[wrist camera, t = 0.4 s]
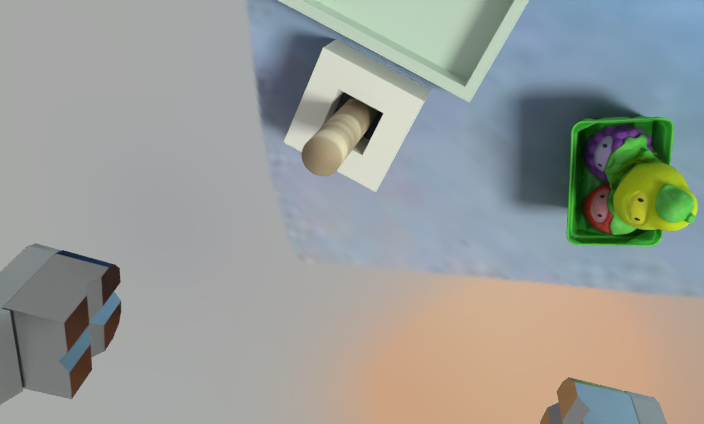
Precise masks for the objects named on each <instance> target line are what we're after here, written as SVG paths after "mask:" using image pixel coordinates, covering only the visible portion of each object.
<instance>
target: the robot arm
mask: <svg viewBox="0 0 704 424" xmlns="http://www.w3.org/2000/svg"><path fill="white" fill-rule="evenodd" d="M119 284H120V268H119V267H117V266H116V265H115V264H111V263H107V262H104V261H100V260H96V259H93V258H89V257H86V256H82V255H78V254H75V253H71V252H67V251H64V250H62V251H61V250H57V249H54V248H50V247H47V246H43V245H40V244H33V245H30V246H28V247H26V248H25V249H24V250H23V251H22V252H21V253H20V254H19V255H18V256H16V257H15V258H14V259H13V260H12V261H11V262H10V263H9V264H8V265H7V266H6V267H5V268H4V269H3V270H2V271H1V272H0V404H2V403H3V402H5V401H7V400H9V399H10V398H12V397H14V396H15V395H17V394H19V393H20V392H22V391H23V388H25V389H29V390H34V391H38V392H43V393H47V394H51V395H56V396H61V397H65V398H69V399H72V398H73V397H74V395H75V394H76V392H77V391H78V389H79V388H80V386H81V385H82V384H83V382H84V381H85V379H86V378H87V376H88V375H89V373H90V372H91V370H92V360H91V357H93V356H95V355H97V354H99V353H101V352H104V351H105V350H106V348H107V347H108V345H109V344H110V342H111V341H112V339H113V337H114V334H115V332H116V330H117V327H118V325H119V321H120V315H121V300H120V299H119V297H118V296H117V295H116V293H115V292H114V290H115V289H116V288H117V286H118V285H119ZM557 395H558V400H559V403H556V404H554V405H552V406H550V407H548V408H547V409H546V411H545V413H544V415H543V417H542V419H541V422H540V424H667V423H666V420H665V417H664V415H663V412H662V409H661V406H660V404H659V402H658V401H657V400H656V399H655V398H654V397H650V396H645V395H641V394H637V393H632V392H628V391H622V390H619V389H615V388H611V387H606V386H602V385H598V384H593V383H590V382H586V381H581V380H577V379H573V378H567V379H566V380H564V381H563V382H562V384H561V385H560V387H559V389H558V390H557Z"/></svg>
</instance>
